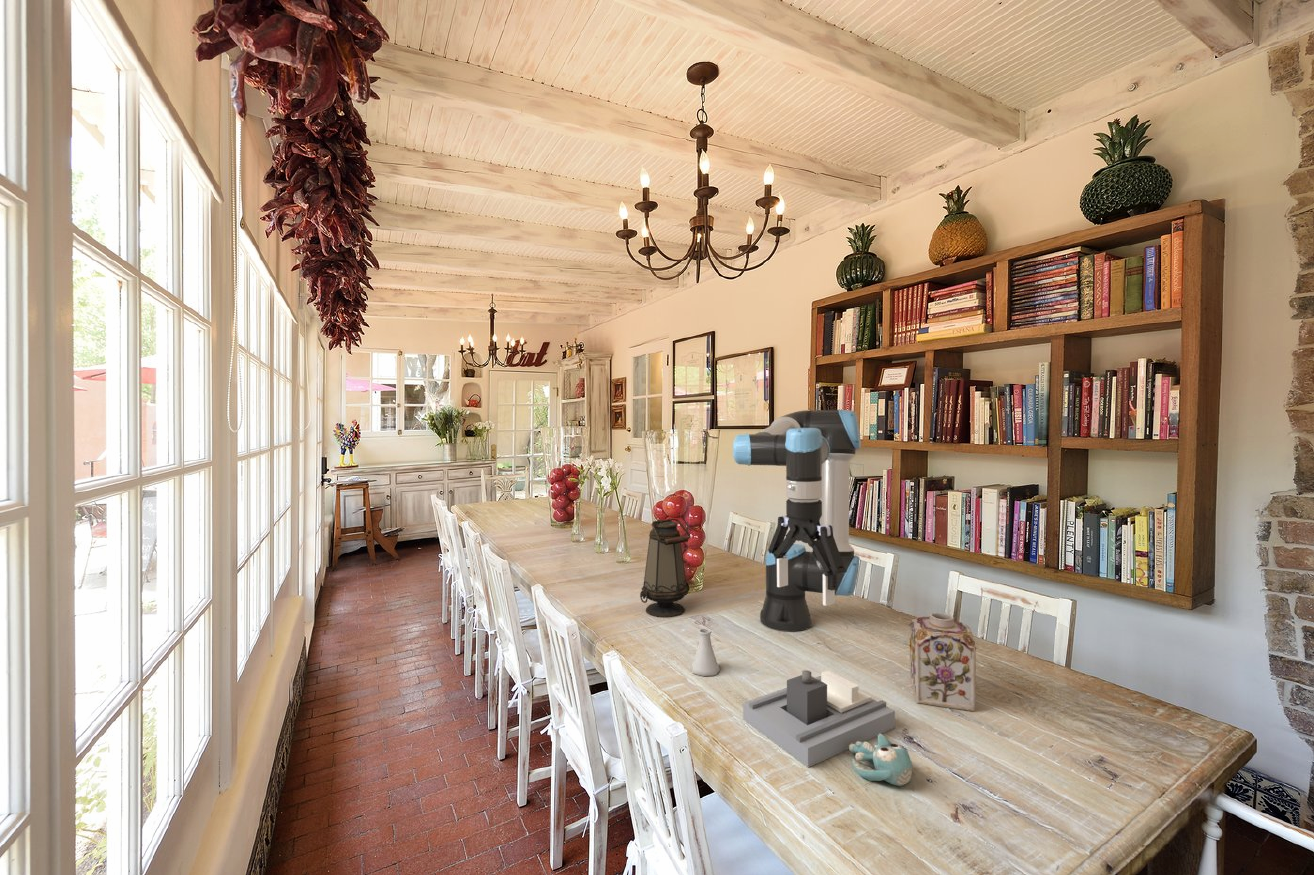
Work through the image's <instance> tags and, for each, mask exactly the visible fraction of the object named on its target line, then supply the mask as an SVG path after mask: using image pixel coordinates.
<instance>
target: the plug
mask: <svg viewBox="0 0 1314 875" xmlns="http://www.w3.org/2000/svg"><path fill="white" fill-rule="evenodd" d="M786 688H787V712H788V713H789V714H791V715H792V716H794V717H795V718H797V719H799V720H800V721H802V722H803V723H805V724H806V725H809V724H812V723H814V722H817V721H819V720H822V719H824V718H827V684H825V683H823V682H822V681H820V680H818V679H816V677H814V676H813V675H812V671H810V670H806V669H805V670H802V671H801V674H800V675H798V676H795V677H792V678H788V679H786Z"/></svg>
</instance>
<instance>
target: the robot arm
mask: <svg viewBox="0 0 1314 875" xmlns="http://www.w3.org/2000/svg"><path fill="white" fill-rule="evenodd" d="M861 440H862V439H861V431H860V425H859V419H858V415H857V413H856V412H855V411H853V410H849V409H840V408H839V409H820V410H819V409H817V410H816V409H815V410H807V409H804V410H799V411H794V412H791V413H787V414H785V415H782V416H780V417H778V418H776V419H775V420H773V421H772V423H771V424H770V426H768V427H766V428H764V429H762V430H761V431H758V432H756V433H752V434H749V433H746V434H737V435H736V436H735V438H734V440H733V443H732V444H733V445H732V455H733V460H734V462H735V463H736V464H737V465H745V466H748V467H749V466H781V467H785V472H786V474H785V480H786V482H785V487H786V490H785V491H786V494H785V495H786V498H788V499H786V502H785V504H786V505H785V506H786V507H785V509H786V510H785V511H786V515H782V516H778V517H777V526H776V529H775V531H774V534H773V536H772V538H771V541H770V544H769V546H768V550H767V551H766V557H765V597H764V601H763V605H762V609H761V610H760V613H759V614H760V615H759V616H760V618H759V619H760V623H761V624H762V625H763V626H765V627H767V628H769V629H772V630H777V631H780V632H781V631H782V632H799V631H800V632H801V631H804V630H807V629H809V628H810V627H811V626H812V615H811V613H810V610H809V606H808V603H807V599H806V592H809V593H819V594H822V605H823V606H825V607H826V606H831V605H833V604H835V602H836V599H835V598H836V597H838V596H842V597H850V596H852V595H853V594H854V592H855V590H856V586H857V580H858V575H859V567H860V560H861V559H860V557H859V555H855V548H854V547H853V546H852V545H851V544H850V478H851V477H850V475H851V474H850V472H851V470H850V466H851V465H850V464H851V461H852V460H853V458H855V457H856V450H857V451H859V450H861V448H862V443H861ZM796 541H797V542H802V543H804V544H808V546H809V547H810V548H811V549H812V551H808V550H807V549H806V547H805V545H803V544H796ZM835 596H836V597H835Z"/></svg>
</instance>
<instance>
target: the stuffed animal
mask: <svg viewBox="0 0 1314 875" xmlns="http://www.w3.org/2000/svg"><path fill="white" fill-rule="evenodd" d="M848 750H849V752H851V753H852V754H855V756H854V757H855V758H853V757H852V758H851V764H852V768H853V769H854V770H855V771H856V773H857V774H858V775H859V776H860V777H861V778H863V779H866V780H867V781H869V782H872V781H877V782H879V781H880V782H881V781H885V782H887V783H888V784H890V785H894V786H899V787H902V786H904V785H906V784H908V783H909V782H910V781H911V778H912V775H913V762H912V759H911V757H910V755H909V752H908V751H907V749H905V748H904V747H902V746H900V745H898V744H896V743H893V742H892V741H891V740H889V739H888V738H887V737H886V736H885V734H883V733H882V734H879V735H878V736H877V744H875V745H874V746H873V745H872V744H871V743H870V742H868V741H865V742H859V741H857V742H856V743H855V744H850V745H849V749H848ZM866 761H868V762H871V763H873V765H874V769H873V768H872V767H869V766H868V765H866V764H864V763H862V762H866Z"/></svg>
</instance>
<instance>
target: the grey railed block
mask: <svg viewBox="0 0 1314 875" xmlns="http://www.w3.org/2000/svg"><path fill="white" fill-rule="evenodd" d="M815 678H816V679H818V680H820V681H821V675H819V676H817V677H815ZM742 720H744V721H745V722H746V723H748V724H749V726H751V727H753V728H754V729H755V730H757V731H758V732H759V733H760V734H762V735H763V736H765V737H766V738H767V739H769V740H770V741H771V742H773V743H774V744H775V745H777V746H778V747H780V748H781V749H782V750H783V751H785V752H786V753H788V754H789V755H790V756H792V757H793V758H794V759H796V760H797V761H799V763H801V764H802V765H804V766H805V767H806V768H810V767H813V766H814V765H816V764H819V763H822V762H823V761H825V760H828V759H830V758H832V757H834V756H837V755H838V754H841V753H843V752H845V751H847V750H849V745H850V744H855V743H856V742H857V741H859V742H868V741H869V740H871V739H874V738H875V737H878V735H879V734H882V735H883V734H884V733H886V732H889V731H891V730H893V729H895V728H896V727H895V726H896V725H895V724H896V722H895V721H896V710H894V709H893V708H891V707H889V706H887V702H886V701H885V700H882V699H881V700H879V701H878V700H875V699H873V698H872V697H871V701H869V702H867V703H864V704H862V705H859V706H857V707H854V708H852V709H849V710H847V711H844V712H842V713H841V712H839V711H837V710H836V709H834V708H832V707H830V706H829V705H827V718H824V719H822V720H819V721H817V722H814V723H812V724H809V725H806V724H805V723H803V722H802V721H800V720H799V719H797V718H795V717H794V716H792V715H791V714H789V713H788V712H787V687H785V688H781V689H779V690H776V691H772V692H771V693H767V694H764V695H762V696H759V697H756V698H752V699H751V700H748V701H744V702H743V703H742Z"/></svg>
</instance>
